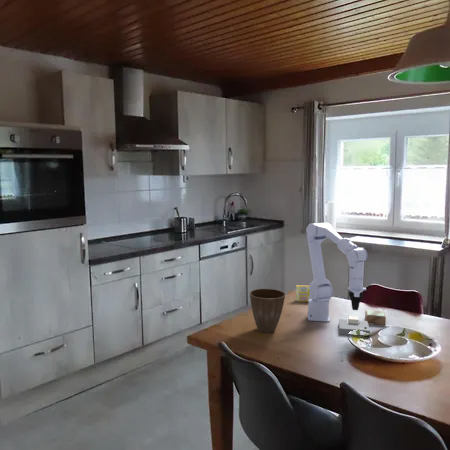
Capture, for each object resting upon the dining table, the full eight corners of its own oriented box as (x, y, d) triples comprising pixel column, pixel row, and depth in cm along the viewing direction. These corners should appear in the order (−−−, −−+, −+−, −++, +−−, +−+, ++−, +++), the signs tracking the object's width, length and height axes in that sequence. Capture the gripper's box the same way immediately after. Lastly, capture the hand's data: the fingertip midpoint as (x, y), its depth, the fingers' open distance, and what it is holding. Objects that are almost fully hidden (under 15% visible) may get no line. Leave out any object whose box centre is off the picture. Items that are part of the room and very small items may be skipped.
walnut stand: (366, 323, 199) (366, 314, 199) (365, 318, 207) (365, 309, 207) (385, 325, 197) (385, 316, 197) (383, 319, 205) (383, 310, 205)
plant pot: (286, 325, 196) (287, 290, 194) (281, 337, 182) (282, 299, 180) (253, 322, 200) (253, 287, 198) (245, 334, 186) (246, 296, 184)
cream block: (358, 330, 192) (358, 319, 191) (348, 329, 193) (348, 319, 192) (357, 326, 196) (358, 316, 195) (348, 325, 197) (348, 315, 196)
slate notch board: (369, 336, 184) (369, 330, 183) (339, 334, 186) (339, 328, 186) (367, 326, 195) (367, 321, 195) (338, 324, 198) (338, 319, 198)
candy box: (327, 301, 234) (327, 285, 233) (327, 302, 232) (328, 286, 231) (295, 300, 236) (296, 284, 235) (296, 301, 234) (296, 285, 233)
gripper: (368, 282, 176) (366, 315, 178) (365, 273, 190) (363, 305, 192) (349, 281, 178) (348, 314, 179) (347, 272, 192) (346, 303, 193)
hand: (355, 309), depth 186 cm, fingers closed
